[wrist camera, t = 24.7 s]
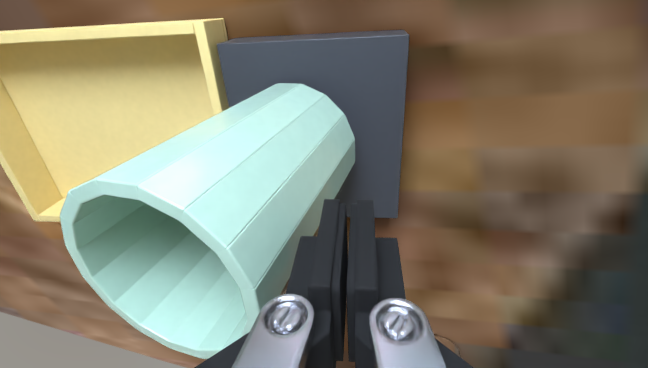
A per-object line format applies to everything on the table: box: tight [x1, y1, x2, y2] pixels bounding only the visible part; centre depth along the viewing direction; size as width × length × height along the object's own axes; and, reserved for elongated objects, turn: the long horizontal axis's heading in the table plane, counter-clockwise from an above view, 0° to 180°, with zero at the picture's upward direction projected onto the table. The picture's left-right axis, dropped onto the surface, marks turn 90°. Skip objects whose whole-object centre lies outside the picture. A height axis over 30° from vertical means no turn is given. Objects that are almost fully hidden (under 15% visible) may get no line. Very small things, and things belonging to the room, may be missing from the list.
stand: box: [217, 30, 409, 218], centre depth 21 cm, size 10×11×3 cm
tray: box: [0, 18, 229, 222], centre depth 23 cm, size 17×13×3 cm
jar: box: [60, 83, 355, 359], centre depth 15 cm, size 7×7×11 cm
